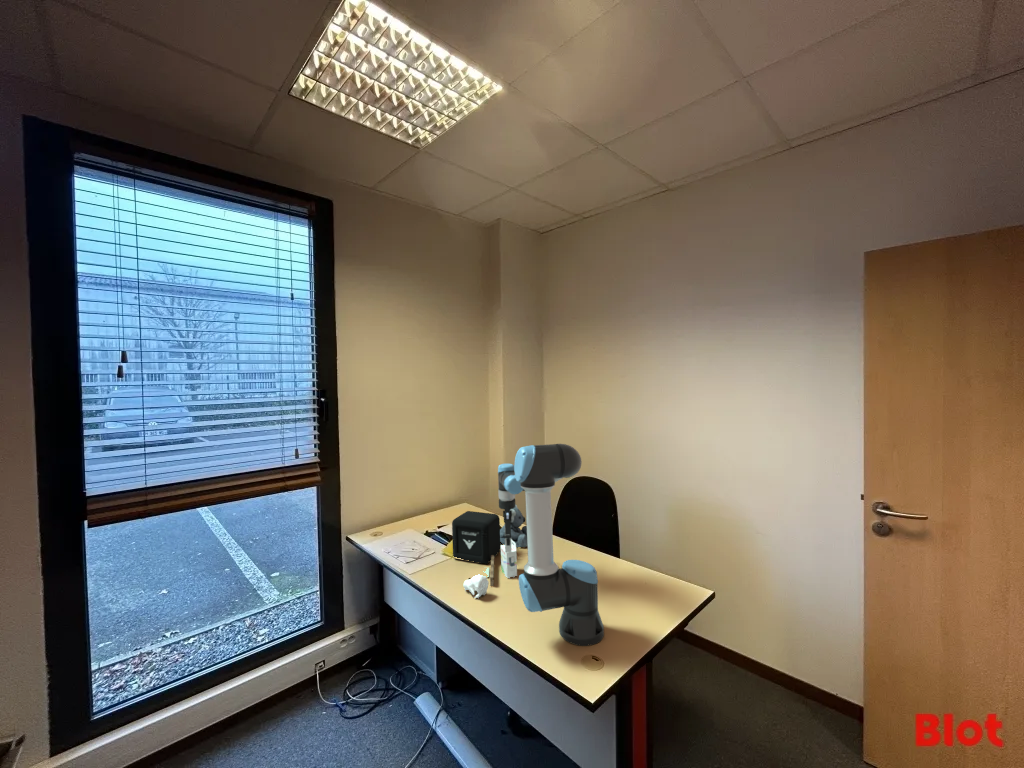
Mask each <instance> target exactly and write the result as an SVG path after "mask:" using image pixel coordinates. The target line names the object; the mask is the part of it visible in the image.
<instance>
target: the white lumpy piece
mask: <svg viewBox="0 0 1024 768" xmlns="http://www.w3.org/2000/svg"><path fill="white" fill-rule="evenodd" d="M489 584H490V581H489V579H488V578H486V577H485V576H483V575H480V574H478V575H475V576H473V577H472V578H471V579H466V580H464V582H463V588H464V589H463V590H464V591H466V590H469V591H468V592H470V593H471V595H473V597H474V598H478V599H480V598H481V596H485V595H486V594H487V591H488V589H489ZM475 592H477V594H476V595H475ZM474 595H475V596H474ZM479 597H480V598H479ZM474 598H473V599H474Z"/></svg>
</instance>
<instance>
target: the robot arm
mask: <svg viewBox="0 0 1024 768" xmlns="http://www.w3.org/2000/svg"><path fill="white" fill-rule="evenodd" d="M581 467H582V457H581V455H580V453H579V452H578V451H577V449H576V448H575V447H573V446H571V445H570V444H565V443H554V444H534V445H533V444H531V445H526V446H522V447H521V446H520V448H519V449H518V450H517V452H516V454H515V458H514V464H512V463H501V464H499V465H498V467H497V477H498V478H497V480H498V485H497V486H498V490H497V491H498V493H497V494H498V508H499V509H501V510H502V517H503V523H504V524H505V536H504V538H505V552H511V525H512V522H511V517H512V510H510V509H513V508H515V506H516V505H517V504H516V499H515V498H516V495H518V494H520V493H522V492H525V493H524V494H525V495H524V496H525V515H526V517H525V522H526V526H527V546H526V547H527V562H526V564H525V565H524V566H523V573H521V574H520V575H518V586H519V592H520V595H521V598H522V602H523V604H524V607H525V608H526V610H527V612H531V613H536V612H541V613H542V612H544V611H549V610H554V609H559V608H560V609H561V608H563V609H562V613H561V616H560V619H559V623H558V632H559V635H560V636H561V637H560V638H562V639H563V640H565V641H566V642H567V643H569V644H572V645H576V646H582V647H583V646H585V647H587V646H588V647H589V646H593V645H596V644H598V643H600V642H601V641H602V640H603V638H604V635H605V631H604V630H605V629H604V628H605V627H604V624H603V620H602V617H601V614H600V612H599V596H598V595H599V592H598V591H599V590H598V587H599V586H598V583H599V580H598V574H597V569H596V568H595V567H594V566H593V564H591V563H589V562H587V561H584V560H580V559H567V560H565V561H563V562H562V565H561V568H559V566H558V563H556V562H555V561H554V542H553V541H554V540H553V539H554V538H553V536H554V535H553V518H552V517H553V515H552V495H551V494H552V493H551V491H552V489H553V488H554V487H555V486H556V483H557V482H558V481H560V480H562V479H563V478H564V479H568V478H572V477H573V476H576V474H578V473H579V471H580V469H581Z"/></svg>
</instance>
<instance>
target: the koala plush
mask: <svg viewBox="0 0 1024 768" xmlns="http://www.w3.org/2000/svg"><path fill="white" fill-rule="evenodd" d="M510 510H512V517H511V522H512V525H511V539H512V540H513V541H514V542H515V543H516V548H518V547H524V548H526V547H528V546H527V525H523V523H525V522H526V517H525V516H523V513H522V511H521V510H520V509H519V508H518V505H517V504H516V506H515V508H513V509H510ZM522 525H523V526H522ZM521 526H522V527H521ZM520 527H521V528H520ZM504 536H505V523H504V525H503V526H502V527H500V542H501V543H502V544H504V545H505V538H504ZM501 543H500V544H501ZM502 544H501V545H502ZM512 544H513V543H512ZM513 545H514V544H513Z"/></svg>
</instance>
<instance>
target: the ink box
mask: <svg viewBox="0 0 1024 768" xmlns="http://www.w3.org/2000/svg"><path fill="white" fill-rule="evenodd" d="M512 543H513V544H514V545H513V544H512ZM500 562H501V563H500V567H501V570H502V571H501V570H500V571H501V572H502V573H504V574H505V575H504V574H503V575H504V577H507V578H509V579H511V578H510V577H513V578H516V577H515V576H517V577H518V563H517V562H518V560H517V547H516V543H515V542H514V541H513V540H512V539H511V552H505V545H502V544H500ZM507 578H506V579H507Z"/></svg>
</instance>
